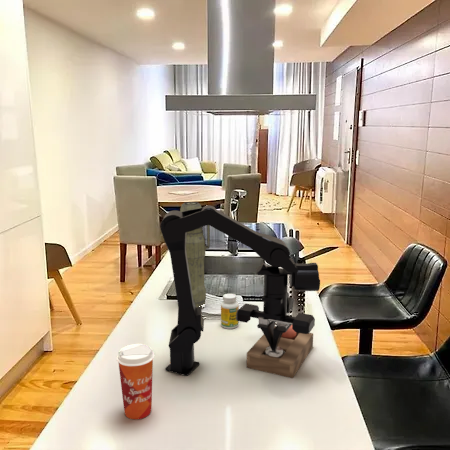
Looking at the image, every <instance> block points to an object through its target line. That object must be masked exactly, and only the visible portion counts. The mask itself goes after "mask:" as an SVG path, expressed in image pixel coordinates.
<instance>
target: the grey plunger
mask: <svg viewBox="0 0 450 450" xmlns="http://www.w3.org/2000/svg"><path fill="white" fill-rule="evenodd" d="M283 354H284V352H283V349H282V348H281V347H278V346H277V349H276V350H275V351H273V350H272V349H271V347H270V346H269V347H267V348H266V351H265V353H264V355H268V356H273V357H278V358H281V357H282V356H283Z"/></svg>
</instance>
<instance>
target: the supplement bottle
mask: <svg viewBox="0 0 450 450" xmlns="http://www.w3.org/2000/svg"><path fill="white" fill-rule="evenodd" d="M222 300H223V301H222V302H221V303H220V325H221V327H222V328H224V329H227V330H233V329H236V328H238V326H239V322H240V321H237V320H236V313H237V310H239V309H240V308H239V307H240V306H239V303H238V301H237V295H236V294H235V293H225V294H223V295H222Z"/></svg>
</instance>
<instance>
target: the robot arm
mask: <svg viewBox="0 0 450 450" xmlns="http://www.w3.org/2000/svg"><path fill="white" fill-rule="evenodd" d="M201 207H202V206H201ZM207 225H210V227H212V228H213V229H215V230H217V231H219V232H220V233H223V234H224V235H226V236H228V237H229V238H232V239H233V240H235V241H237V242H239V243H241V244H242V245H244V246H246V247H248V248H249V249H250V250H252V251H253V252H254V253H255V254H256V255H257V256H259V257H260V258H261V259H263V260H264V261H265V262H266V263H267V264H268V265H267V264H265V263H264V262H262V263H261V264H260V265H258V267H256V268H255V271H256V273H257V275H258V276H263V296H262V297H261V301H262V302H263V311H262V310H260V308H259V307H260V306H259V305H257V304H251V303H244V304H243V305H242V306H241V307H240V308H239V310H237V313H236V320H237V321H239V322H241V323H248V322H249V321H251V318H254V319H257V320H258V323H257V325H256V326H257V329H260V330H261V332H262V333H263V335H265V337H266V339H267V341H268V343H269V345H270V347H271V349H272V350H273V351H275V350H276V349H277V346H278V344H279V341H280V338H281V336H282V334H283V333H285V332H286V331H287V330H288V329H289V328H290V326H291V325H292V329H293V330H294V331H295V332H297V333H303V334H309V333H311V331H312V330H313V329H314V327H315V320H316V319H315V317H314V316H313V314H307V313H304V312H303V313H302V312H299V313H298V314H297V315H296V316H292V315H289V314H290V312H291V311H293V309H294V304H295V303H294V302H295V298H294V297H290V294H289V292H288V282H289V287H290V288H293V290H294V292H319V291H320V287H321V279H320V272H319V265H318V263H317V262H309V263H296V262H295V261H294V259H293V258H291V253H290V250H289V247H288V246H287V244H286V243H285V242H284V241H283V240H282V239H280V238H278V237H275V236H272V235H270V234H266V233H265V234H264V233H262V232H259V231H256V230H255V229H252V228H250V227H249V226H247V225H245V224H243V223H242V222H240V221H238V220H236V219H235V218H233V217H231V216H229V215H227V214H225V213H223V212H222V211H220V210H218V209H217V208H216V207H214V206H213V205H205V206H203V207H202V208H197V209H192V210H187V211H183V212H180V210H170V211H168V212H167V213H166V214H165V215H164V216H163V218H162V221H161V223H160V232H161V235H162V238H163V241H164V243H165V246H166V247H167V250H168V252H169V256H170V261H171V262H170V263H171V269H172V275H173V280H174V288H175V294H176V300H177V307H178V308H177V309H178V310H177V324H176V326H175V327H173V329H172V328H171V332H170V336H169V342H168V348H169V354H170V355H169V364H168V365H167V366H166V367H164V370H165V371H167V372H171V373H174V374H178V375H183V376H187V377H188V376H189V375H190V374H191V373H192V372H193V371H195V369H197V367H199V365H200V361H196V360H195V344H196V343H197V342H198V341H200V339H201V336H202V332H204V328H205V327H204V325H205V323H204V322H205V319H204V318H203V315H202V311H203V309H202V306H200V307H196V305H195V303H194V300H193V294H192V287H191V280H190V273H189V267H188V260H187V253H186V235H187V232H190V231H193V230H195V229H198V228H200V227H203V228H204V227H207ZM275 326H276V327H275Z"/></svg>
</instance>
